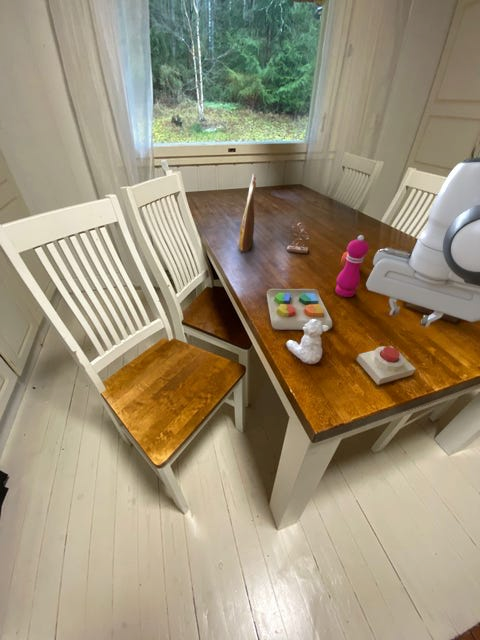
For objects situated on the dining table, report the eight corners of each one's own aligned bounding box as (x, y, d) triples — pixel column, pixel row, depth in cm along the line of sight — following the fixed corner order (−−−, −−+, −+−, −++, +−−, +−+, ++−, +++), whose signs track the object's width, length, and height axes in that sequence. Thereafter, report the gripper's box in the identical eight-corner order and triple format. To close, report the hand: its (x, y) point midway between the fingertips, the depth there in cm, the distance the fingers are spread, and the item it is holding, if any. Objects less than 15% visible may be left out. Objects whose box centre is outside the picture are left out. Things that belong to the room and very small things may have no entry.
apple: (361, 274, 103) (368, 254, 98) (339, 272, 104) (345, 252, 99) (359, 264, 109) (365, 245, 104) (338, 262, 110) (343, 244, 105)
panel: (458, 303, 88) (463, 295, 86) (456, 322, 81) (461, 314, 79) (411, 290, 95) (415, 282, 93) (404, 306, 87) (408, 298, 85)
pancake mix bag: (257, 237, 130) (260, 171, 113) (251, 254, 115) (255, 182, 98) (243, 236, 131) (244, 170, 113) (236, 253, 116) (236, 181, 99)
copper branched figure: (307, 249, 120) (312, 222, 112) (307, 253, 117) (312, 225, 109) (287, 247, 121) (290, 220, 114) (286, 251, 118) (290, 223, 111)
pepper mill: (329, 289, 94) (343, 232, 82) (345, 284, 97) (362, 229, 84) (343, 300, 89) (361, 241, 77) (360, 295, 92) (380, 237, 79)
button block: (388, 351, 71) (394, 340, 68) (412, 374, 65) (419, 363, 63) (356, 360, 69) (360, 349, 66) (377, 384, 63) (383, 373, 60)
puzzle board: (317, 294, 92) (319, 285, 90) (332, 330, 77) (335, 321, 75) (266, 293, 92) (266, 284, 90) (271, 330, 77) (272, 320, 75)
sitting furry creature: (318, 341, 74) (328, 305, 66) (331, 365, 67) (344, 328, 60) (285, 345, 73) (290, 308, 65) (295, 369, 66) (302, 332, 58)
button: (389, 350, 66) (392, 345, 65) (400, 361, 64) (403, 355, 63) (377, 353, 65) (379, 348, 64) (387, 364, 63) (390, 359, 62)
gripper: (374, 250, 51) (354, 309, 60) (510, 284, 42) (463, 347, 51) (382, 239, 55) (362, 296, 64) (508, 268, 46) (465, 329, 55)
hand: (408, 319), depth 57 cm, fingers open, 4 cm apart
